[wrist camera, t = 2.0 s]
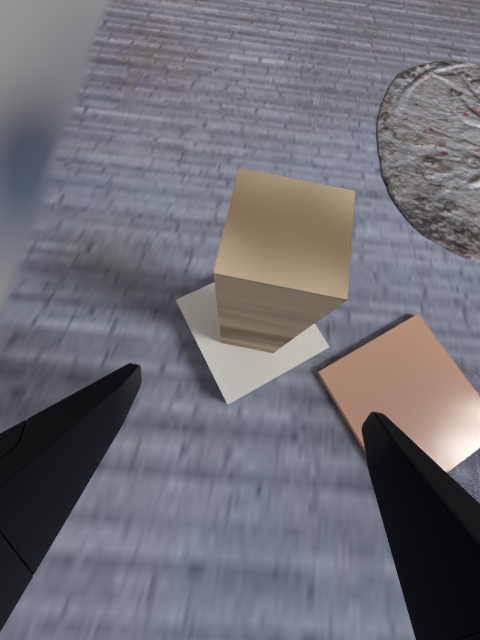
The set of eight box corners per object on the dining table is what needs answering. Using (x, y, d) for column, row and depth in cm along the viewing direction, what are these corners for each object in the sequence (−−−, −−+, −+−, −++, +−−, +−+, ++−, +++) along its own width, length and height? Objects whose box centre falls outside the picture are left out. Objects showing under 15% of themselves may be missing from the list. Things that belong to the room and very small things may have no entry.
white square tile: (227, 403, 21) (227, 404, 19) (179, 307, 23) (175, 299, 21) (320, 350, 23) (329, 347, 21) (268, 265, 25) (272, 255, 23)
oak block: (273, 353, 20) (347, 299, 8) (221, 343, 20) (213, 272, 8) (280, 304, 22) (354, 190, 9) (231, 294, 22) (239, 167, 9)
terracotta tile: (395, 504, 20) (400, 507, 19) (316, 372, 22) (318, 371, 22) (496, 428, 22) (504, 429, 21) (413, 315, 24) (418, 313, 24)
